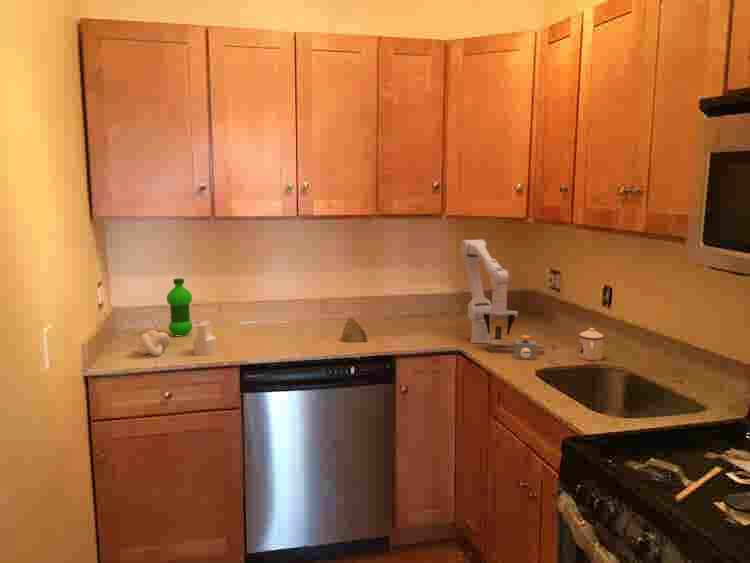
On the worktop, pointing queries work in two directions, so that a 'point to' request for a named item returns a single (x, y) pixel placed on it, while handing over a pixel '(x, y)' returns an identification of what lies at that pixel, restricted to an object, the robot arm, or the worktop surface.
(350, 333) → the rock
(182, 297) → the plastic bottle
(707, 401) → the worktop surface
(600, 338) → the teacup with lid
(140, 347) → the beige knot
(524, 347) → the gauge box
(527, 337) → the button
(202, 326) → the cylinder with rectangular tab
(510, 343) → the guide rail
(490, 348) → the board
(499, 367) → the worktop surface
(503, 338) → the carriage
